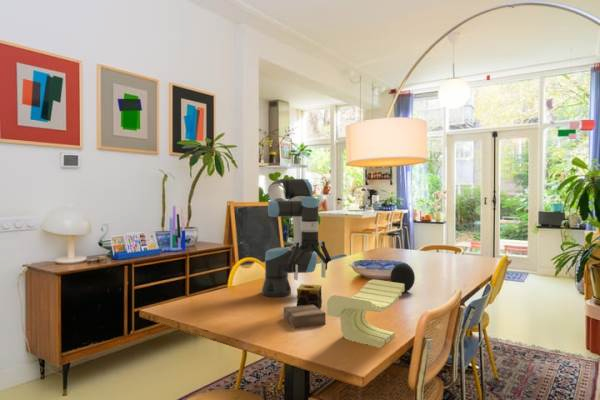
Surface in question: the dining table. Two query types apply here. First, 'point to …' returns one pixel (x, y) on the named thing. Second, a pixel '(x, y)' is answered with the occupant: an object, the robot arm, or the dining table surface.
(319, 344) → the dining table surface
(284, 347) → the dining table surface
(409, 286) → the decorative egg
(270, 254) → the robot arm
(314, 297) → the candle
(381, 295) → the slatted curved stool
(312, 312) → the walnut block
